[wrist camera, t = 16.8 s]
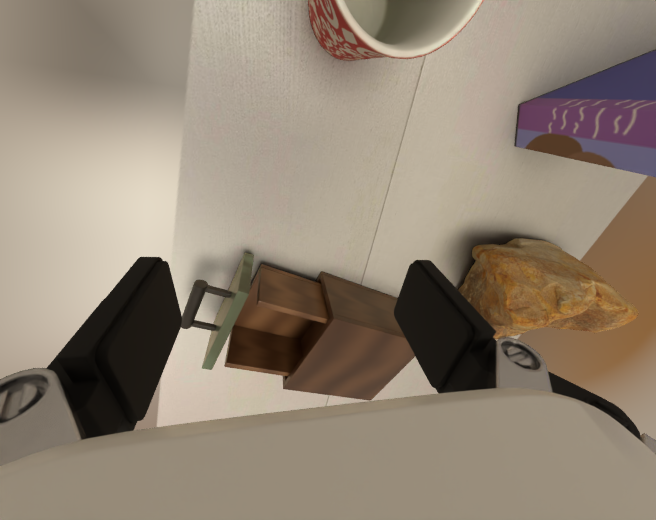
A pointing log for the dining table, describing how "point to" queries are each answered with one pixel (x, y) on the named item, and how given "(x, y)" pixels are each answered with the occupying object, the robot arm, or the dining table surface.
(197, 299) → the drawer
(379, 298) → the cabinet
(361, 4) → the mug
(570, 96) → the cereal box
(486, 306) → the rough brown rock
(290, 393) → the dining table surface
